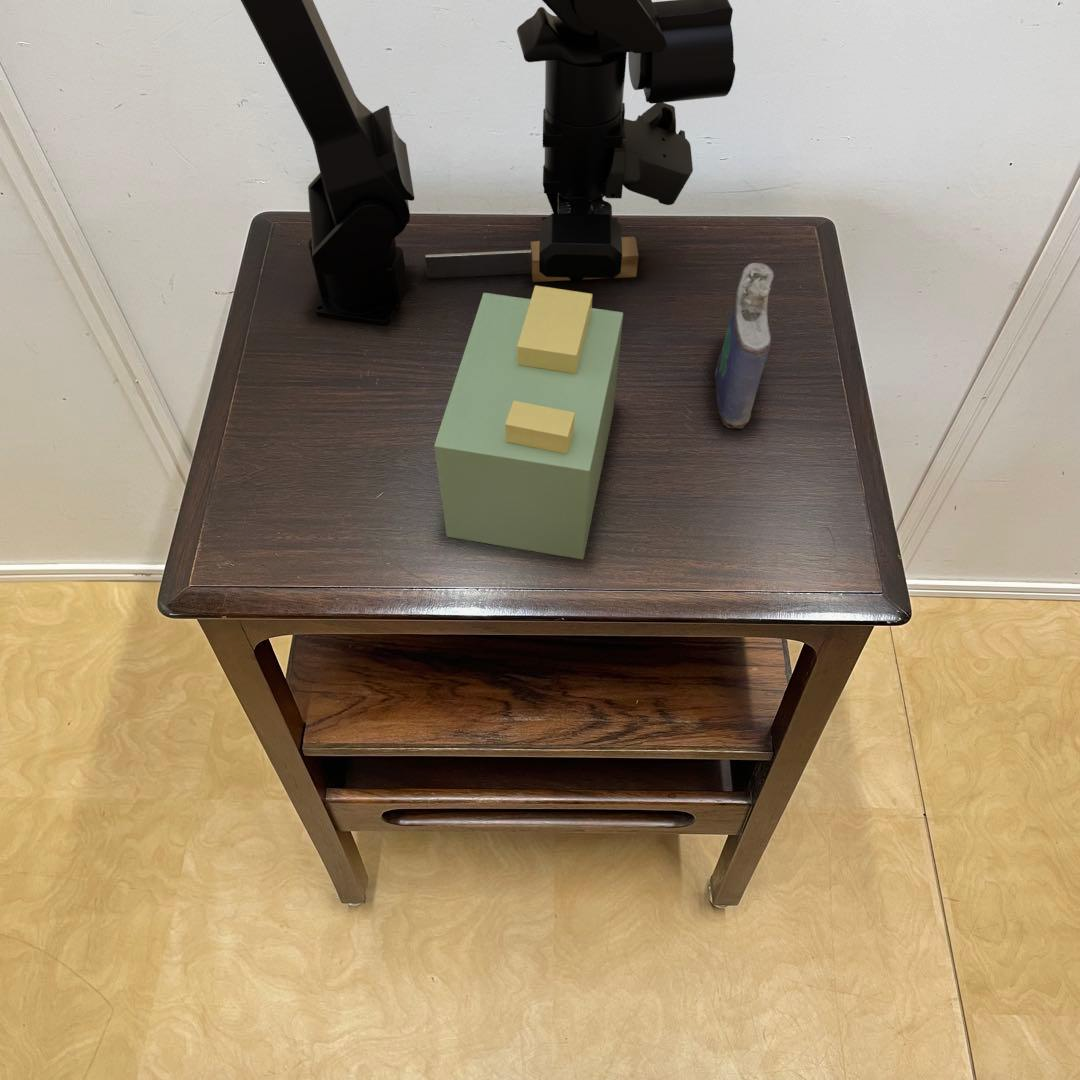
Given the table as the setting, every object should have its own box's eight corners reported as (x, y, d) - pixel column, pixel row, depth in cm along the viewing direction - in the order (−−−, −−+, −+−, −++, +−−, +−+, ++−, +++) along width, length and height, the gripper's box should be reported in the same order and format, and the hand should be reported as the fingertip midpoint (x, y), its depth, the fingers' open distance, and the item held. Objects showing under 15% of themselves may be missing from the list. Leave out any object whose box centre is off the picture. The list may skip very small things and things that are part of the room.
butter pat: (505, 442, 63) (504, 424, 61) (513, 418, 64) (513, 400, 63) (567, 454, 62) (567, 436, 61) (574, 430, 64) (575, 412, 62)
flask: (749, 432, 77) (777, 332, 68) (711, 427, 77) (734, 327, 68) (753, 345, 82) (779, 241, 73) (717, 341, 82) (739, 237, 73)
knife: (632, 258, 88) (635, 236, 86) (636, 277, 86) (638, 255, 84) (427, 267, 87) (425, 246, 85) (428, 287, 85) (425, 265, 83)
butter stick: (517, 365, 67) (516, 346, 65) (535, 304, 70) (535, 285, 68) (576, 374, 66) (577, 355, 65) (591, 312, 69) (592, 293, 68)
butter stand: (446, 537, 72) (433, 445, 63) (489, 391, 79) (483, 292, 70) (583, 560, 71) (590, 470, 62) (613, 411, 78) (623, 311, 69)
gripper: (702, 187, 68) (675, 348, 81) (685, 33, 78) (664, 198, 91) (539, 184, 68) (538, 345, 81) (544, 31, 78) (542, 196, 91)
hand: (576, 267), depth 86 cm, fingers closed on knife, 3 cm apart
